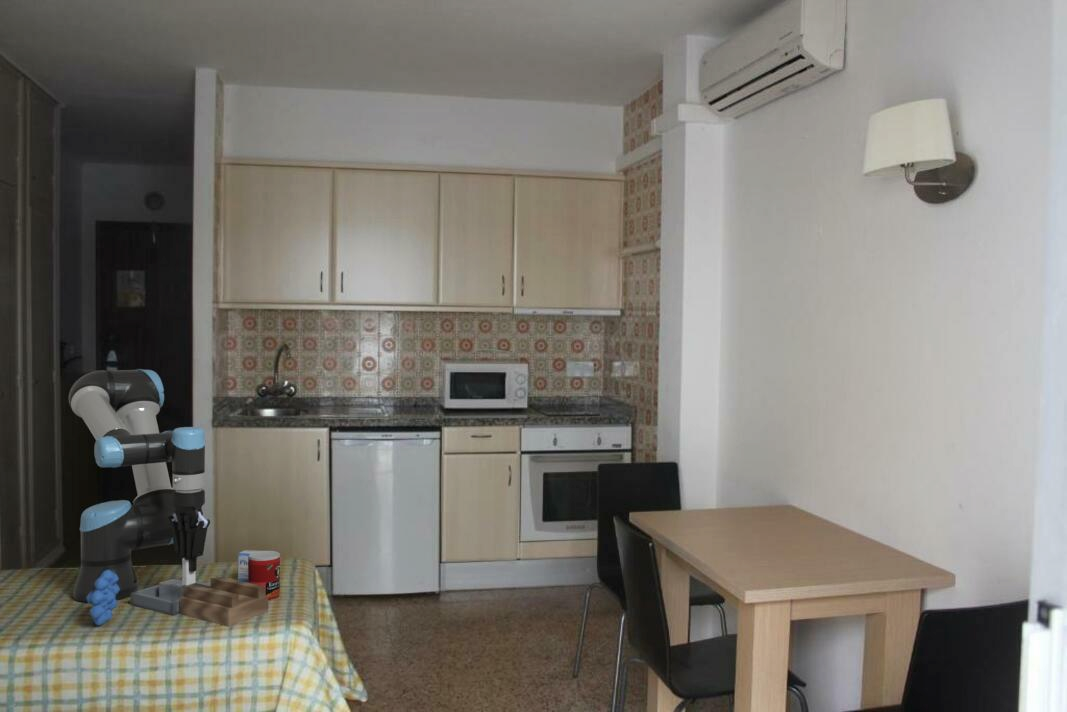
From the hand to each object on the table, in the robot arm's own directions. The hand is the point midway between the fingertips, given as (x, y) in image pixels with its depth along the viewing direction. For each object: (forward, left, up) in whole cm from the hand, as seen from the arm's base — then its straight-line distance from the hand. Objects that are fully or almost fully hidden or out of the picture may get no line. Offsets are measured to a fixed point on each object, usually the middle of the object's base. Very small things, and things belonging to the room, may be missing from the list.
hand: (189, 583), depth 212 cm
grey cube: (-3, 0, -4) cm, 5 cm away
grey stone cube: (-5, 0, -3) cm, 5 cm away
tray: (-4, 0, -5) cm, 7 cm away
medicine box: (0, +21, -6) cm, 22 cm away
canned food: (+11, +14, -6) cm, 19 cm away
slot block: (+13, 0, -5) cm, 14 cm away
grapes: (-7, -19, -5) cm, 21 cm away
